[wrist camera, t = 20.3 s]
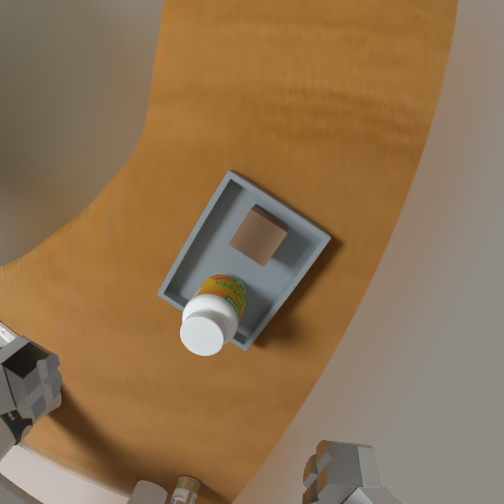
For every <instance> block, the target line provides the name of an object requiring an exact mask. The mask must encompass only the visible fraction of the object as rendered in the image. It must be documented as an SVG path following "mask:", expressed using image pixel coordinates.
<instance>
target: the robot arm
mask: <svg viewBox="0 0 504 504" xmlns="http://www.w3.org/2000/svg"><path fill="white" fill-rule="evenodd" d="M59 365H60V363H59V358H58V356H57V355H56V354H54V353H52V352H51V351H49V350H47V349H45V348H44V347H42V346H40V345H39V344H37V343H35V342H34V341H32V340H30V339H28V338H27V337H25V336H24V335H22V336H18V335H16V334H15V333H14V332H13V331H11V330H10V329H9V328H8V327H6V326H5V325H4V324H3V323H1V322H0V461H1V459H2V458H3V457H4V456H5V455H6V454H7V452H8V451H9V450H10V449H11V448H12V447H13V445H17V444H18V443H19V442H20V441H21V440H23V439H24V438H25V437H26V435H27V434H28V433H29V432H30V431H31V429H32V427H33V425H34V424H35V423H36V422H37V421H38V420H40V419H41V418H42V417H43V416H45V415H46V414H48V413H49V412H51V411H53V410H54V409H57V408H58V407H60V405H61V402H62V398H61V393H60V389H61V387H62V376H61V374H60V372H59V370H58V369H57V367H58V366H59ZM303 484H304V485H305V487H306V488H307V490H306V492H305V493H304V494H303V503H302V504H401V503H400V502H399V501H398V500H397V499H396V498H395V497H394V496H393V495H392V494H391V493H390V492H389V491H388V490H387V489H386V488H385V487H380V481H379V476H378V471H377V466H376V461H375V456H374V451H373V447H372V446H371V445H363V444H353V443H344V442H335V441H326V440H322V441H321V442H320V443H319V444H318V446H317V447H316V454H314V455H312V456H311V457H310V458H309V460H308V462H307V464H306V467H305V470H304V475H303ZM0 504H43V503H42V502H40V501H38V500H37V499H35V498H34V497H32V496H31V495H29V494H28V493H27V492H25V491H24V490H22V489H21V488H19V487H18V486H17V485H15V484H14V483H13V482H11V481H10V480H9V479H7V478H6V477H5V476H3V475H2V474H1V473H0Z"/></svg>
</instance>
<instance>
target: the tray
mask: <svg viewBox="0 0 504 504" xmlns="http://www.w3.org/2000/svg"><path fill="white" fill-rule="evenodd" d="M255 204H257V205H259V206H260V207H262V208H263V209H265V210H266V211H268V212H269V213H271V214H273V215H274V216H276V217H277V218H279V219H280V220H282V221H283V222H285V223H286V224H288V233H287V235H286V236H285V238H284V239H283V240H282V242H281V243H280V245H279V246H278V248H277V249H276V251H275V252H274V253H273V255H272V256H271V258H270V259H269V261H268V262H267V264H266V265H265V266H264V267H263V266H261V265H259V264H258V263H256V262H255V261H253V260H252V259H250V258H249V257H247V256H246V255H244V254H243V253H241V252H239V251H238V250H236V249H235V248H233V247H232V246H230V245H229V242H230V241H231V239H232V237H233V236H234V234H235V233H236V231H237V230H238V228H239V226H240V225H241V223H242V222H243V220H244V219H245V217H246V216H247V214H248V213H249V211H250V209H251V208H252V207H253V206H254V205H255ZM330 239H331V236H330V234H329V233H328V232H327V231H325V230H324V229H322V228H321V227H320V226H318V225H317V224H315V223H314V222H312V221H311V220H309V219H308V218H306V217H305V216H303V215H302V214H300V213H299V212H297V211H296V210H294V209H293V208H291V207H290V206H288V205H287V204H285V203H284V202H282V201H281V200H279V199H278V198H276V197H275V196H273V195H272V194H270V193H269V192H267V191H265V190H264V189H262V188H261V187H259V186H258V185H256V184H255V183H253V182H251V181H250V180H248V179H247V178H245V177H244V176H242V175H240V174H239V173H237V172H236V171H234V170H228V172H227V174H226V175H225V177H224V178H223V180H222V182H221V183H220V185H219V187H218V188H217V190H216V192H215V193H214V195H213V197H212V198H211V200H210V202H209V203H208V205H207V207H206V208H205V210H204V212H203V213H202V215H201V217H200V218H199V220H198V222H197V224H196V225H195V227H194V229H193V230H192V232H191V234H190V236H189V237H188V239H187V241H186V243H185V244H184V246H183V248H182V250H181V252H180V253H179V255H178V257H177V259H176V260H175V262H174V264H173V266H172V268H171V270H170V271H169V273H168V275H167V277H166V279H165V281H164V282H163V284H162V286H161V288H160V290H159V292H158V294H157V295H158V296H159V297H161V298H162V299H164V300H165V301H167V302H168V303H170V304H171V305H173V306H174V307H176V308H177V309H179V310H180V311H182V312H183V311H184V309H185V307H186V305H187V303H188V302H189V301H190V300H191V298H192V297H193V296H194V294H195V293H196V292H197V290H198V289H199V287H200V286H201V285H202V283H203V282H204V281H205V280H206V279H207V278H208V277H209V276H211V275H213V274H216V273H228V274H231V275H233V276H235V277H237V278H238V279H239V280H240V281H241V282H242V283H243V285H244V287H245V289H246V292H247V302H246V306H245V308H244V311H243V314H242V317H241V320H240V323H239V326H238V329H237V331H236V333H235V335H234V337H233V338H232V339H231V340H230V341H229V342H231V343H233V344H234V345H236V346H238V347H239V348H241V349H243V350H245V351H246V350H247V349H248V348H249V347H250V345H251V344H252V343H253V342H254V340H255V339H256V338H257V337H258V335H259V334H260V333H261V331H262V330H263V329H264V328H265V326H266V325H267V324H268V323H269V321H270V320H271V319H272V317H273V316H274V315H275V313H276V312H277V311H278V310H279V308H280V307H281V306H282V304H283V303H284V302H285V300H286V299H287V298H288V296H289V295H290V294H291V292H292V291H293V290H294V288H295V287H296V286H297V284H298V283H299V282H300V280H301V279H302V278H303V276H304V275H305V274H306V272H307V271H308V270H309V268H310V267H311V265H312V264H313V263H314V261H315V260H316V259H317V257H318V256H319V254H320V253H321V252H322V250H323V249H324V247H325V246H326V245H327V243H328V242H329V240H330Z"/></svg>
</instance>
